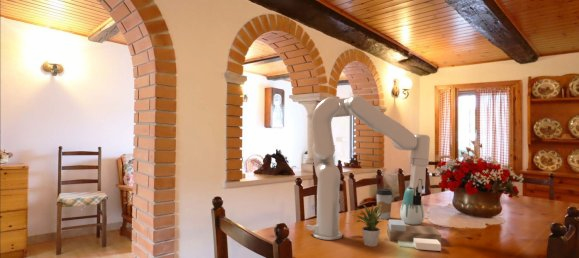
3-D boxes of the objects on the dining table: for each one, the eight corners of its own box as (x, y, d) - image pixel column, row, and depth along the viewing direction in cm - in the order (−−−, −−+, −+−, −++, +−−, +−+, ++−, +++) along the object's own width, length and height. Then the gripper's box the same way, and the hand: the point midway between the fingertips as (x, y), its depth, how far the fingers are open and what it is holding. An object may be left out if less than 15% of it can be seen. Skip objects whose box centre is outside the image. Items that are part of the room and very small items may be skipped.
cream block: (413, 237, 138) (413, 244, 138) (416, 242, 132) (416, 249, 132) (437, 239, 137) (437, 245, 137) (441, 244, 131) (441, 250, 131)
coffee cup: (393, 217, 185) (394, 189, 185) (389, 220, 178) (389, 191, 178) (378, 215, 189) (379, 187, 189) (373, 218, 182) (374, 189, 182)
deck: (389, 241, 143) (390, 231, 143) (387, 232, 155) (387, 224, 155) (441, 244, 140) (441, 234, 140) (434, 236, 151) (434, 227, 151)
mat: (399, 246, 136) (399, 245, 136) (397, 241, 143) (397, 240, 143) (431, 249, 134) (431, 248, 134) (428, 243, 140) (428, 242, 140)
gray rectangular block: (405, 231, 144) (405, 225, 144) (390, 230, 145) (391, 224, 145) (402, 225, 152) (402, 220, 152) (388, 224, 154) (388, 219, 154)
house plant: (363, 236, 150) (364, 198, 150) (394, 242, 141) (394, 202, 141) (346, 243, 139) (347, 203, 139) (379, 251, 130) (379, 208, 130)
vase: (420, 227, 165) (420, 190, 165) (396, 223, 172) (396, 187, 172) (427, 223, 174) (427, 187, 174) (404, 219, 181) (404, 185, 181)
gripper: (407, 160, 158) (405, 200, 158) (413, 163, 144) (410, 207, 143) (424, 162, 157) (422, 202, 157) (432, 164, 142) (429, 209, 142)
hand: (416, 204), depth 150 cm, fingers closed
